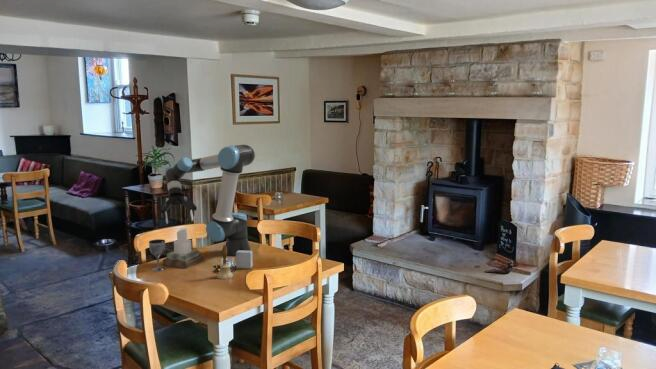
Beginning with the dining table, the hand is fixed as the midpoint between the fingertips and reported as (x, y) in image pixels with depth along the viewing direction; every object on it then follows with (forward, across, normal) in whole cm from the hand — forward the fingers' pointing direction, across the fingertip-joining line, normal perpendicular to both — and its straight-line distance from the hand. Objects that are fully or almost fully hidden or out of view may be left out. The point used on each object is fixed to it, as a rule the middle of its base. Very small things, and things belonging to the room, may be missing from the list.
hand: (180, 221), depth 277 cm
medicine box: (+35, -28, +4) cm, 45 cm away
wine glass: (+24, +14, -6) cm, 29 cm away
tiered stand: (+20, 0, -10) cm, 22 cm away
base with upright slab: (+16, 0, -6) cm, 17 cm away
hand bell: (+42, -15, +12) cm, 46 cm away
